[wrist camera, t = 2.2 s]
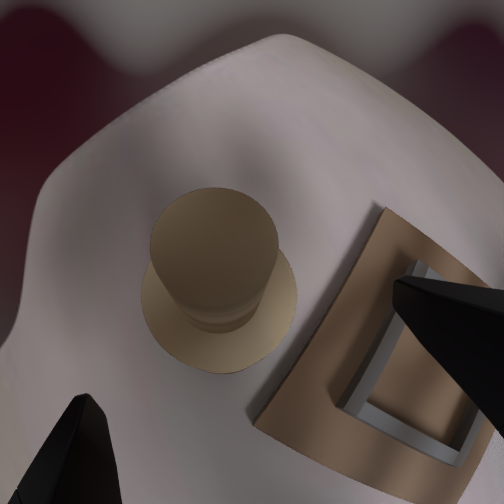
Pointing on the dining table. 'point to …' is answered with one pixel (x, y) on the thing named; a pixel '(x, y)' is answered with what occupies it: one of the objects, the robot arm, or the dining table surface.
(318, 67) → the dining table surface
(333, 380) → the board
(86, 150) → the dining table surface
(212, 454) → the dining table surface
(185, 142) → the dining table surface
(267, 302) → the wooden peg
